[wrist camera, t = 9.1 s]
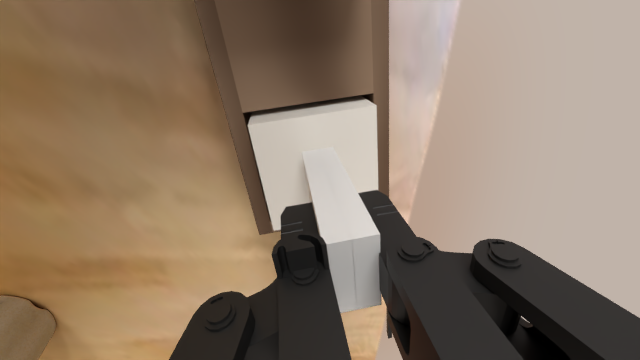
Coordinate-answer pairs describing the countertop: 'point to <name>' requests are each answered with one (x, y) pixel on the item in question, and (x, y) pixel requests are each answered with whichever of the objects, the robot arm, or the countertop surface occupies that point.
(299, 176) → the off-white key
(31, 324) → the flower pot
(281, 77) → the brown wooden long tray
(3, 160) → the countertop surface
